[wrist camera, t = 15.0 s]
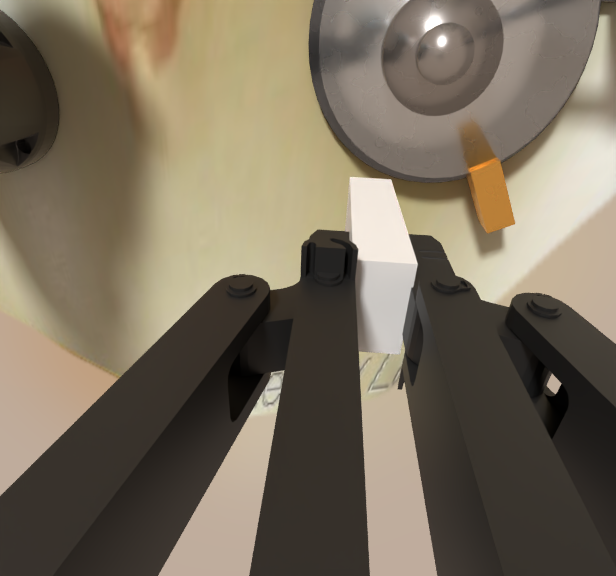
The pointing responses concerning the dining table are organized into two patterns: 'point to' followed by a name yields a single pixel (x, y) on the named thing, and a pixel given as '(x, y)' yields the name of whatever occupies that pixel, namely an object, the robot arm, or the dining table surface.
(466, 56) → the cover
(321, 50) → the turntable
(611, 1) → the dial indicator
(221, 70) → the dining table surface
